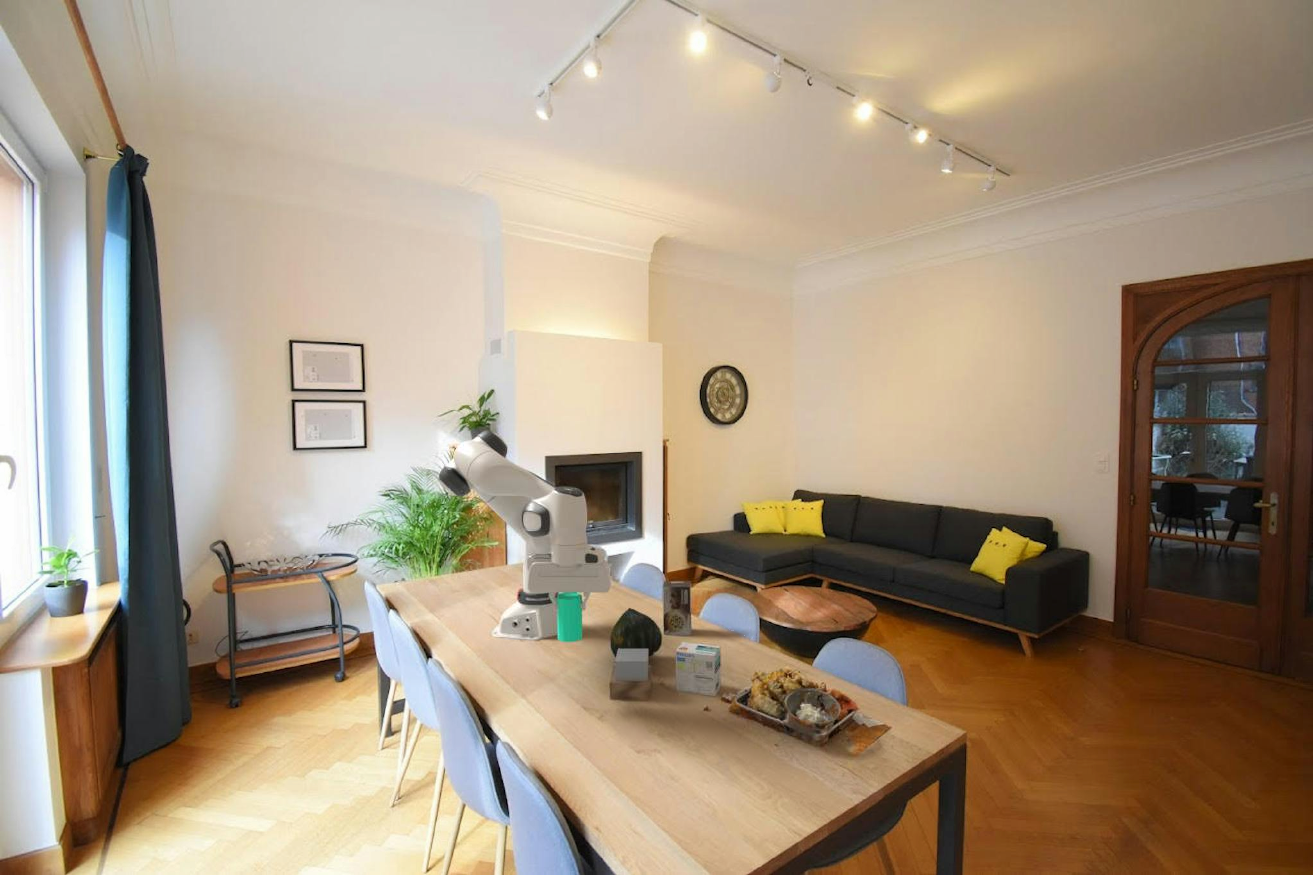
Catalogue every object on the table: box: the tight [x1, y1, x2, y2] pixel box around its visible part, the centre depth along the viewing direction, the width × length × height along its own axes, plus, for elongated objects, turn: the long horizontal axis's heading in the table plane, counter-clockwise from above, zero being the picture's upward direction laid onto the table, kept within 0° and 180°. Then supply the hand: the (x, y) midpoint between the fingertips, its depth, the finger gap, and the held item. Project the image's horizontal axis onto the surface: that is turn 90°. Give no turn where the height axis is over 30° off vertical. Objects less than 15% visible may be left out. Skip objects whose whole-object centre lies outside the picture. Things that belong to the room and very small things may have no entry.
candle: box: [557, 592, 583, 643], centre depth 143 cm, size 6×6×12 cm
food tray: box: [703, 665, 891, 764], centre depth 135 cm, size 35×26×11 cm
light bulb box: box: [675, 641, 722, 697], centre depth 151 cm, size 11×7×11 cm, turn 71°
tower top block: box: [614, 649, 650, 681], centre depth 149 cm, size 8×8×5 cm
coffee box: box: [662, 580, 693, 636], centre depth 191 cm, size 9×6×16 cm
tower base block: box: [609, 665, 653, 701], centre depth 149 cm, size 10×10×5 cm
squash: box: [609, 607, 663, 659], centre depth 166 cm, size 14×15×15 cm
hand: (569, 609), depth 143 cm, fingers closed on candle, 5 cm apart
